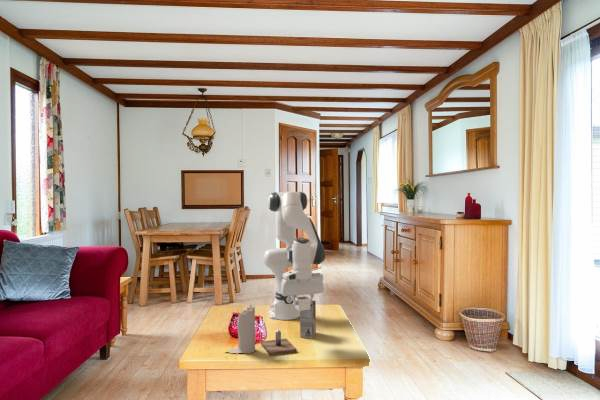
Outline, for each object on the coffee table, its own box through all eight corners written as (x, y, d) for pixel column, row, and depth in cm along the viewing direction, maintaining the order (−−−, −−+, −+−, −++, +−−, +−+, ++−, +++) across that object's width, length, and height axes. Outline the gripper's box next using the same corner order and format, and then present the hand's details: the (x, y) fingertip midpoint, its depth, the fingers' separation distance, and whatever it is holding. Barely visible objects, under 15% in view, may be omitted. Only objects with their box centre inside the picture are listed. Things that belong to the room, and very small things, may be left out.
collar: (295, 308, 195) (295, 297, 195) (306, 306, 197) (306, 296, 197) (299, 310, 190) (299, 299, 190) (310, 309, 192) (310, 298, 192)
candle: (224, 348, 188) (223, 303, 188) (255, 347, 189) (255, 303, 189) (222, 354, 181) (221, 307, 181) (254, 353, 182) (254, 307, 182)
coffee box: (303, 331, 212) (303, 299, 212) (316, 332, 210) (315, 300, 210) (299, 337, 203) (299, 304, 203) (313, 338, 201) (312, 304, 201)
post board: (261, 344, 193) (261, 341, 193) (286, 341, 197) (286, 338, 197) (269, 355, 179) (269, 352, 179) (296, 352, 183) (296, 348, 183)
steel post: (275, 344, 189) (274, 330, 189) (280, 343, 189) (280, 329, 189) (276, 346, 186) (276, 331, 186) (281, 345, 187) (281, 330, 187)
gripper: (320, 271, 200) (320, 300, 200) (279, 274, 193) (279, 304, 193) (325, 273, 194) (326, 303, 194) (283, 276, 187) (283, 307, 187)
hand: (302, 304), depth 194 cm, fingers closed on collar, 5 cm apart
